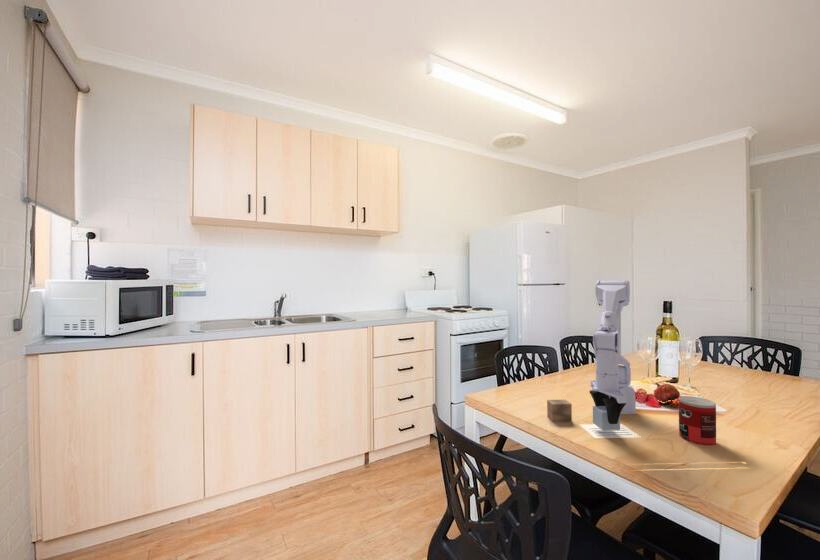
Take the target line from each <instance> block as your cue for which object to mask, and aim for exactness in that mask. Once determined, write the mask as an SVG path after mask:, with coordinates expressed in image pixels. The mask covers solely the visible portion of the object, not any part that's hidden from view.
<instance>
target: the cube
mask: <svg viewBox="0 0 820 560" xmlns="http://www.w3.org/2000/svg"><path fill="white" fill-rule="evenodd" d="M592 424H595V425H596V426H598V427H599V428H600V429H601V430H620V424H621V415H620V416H619V420H618V423H617V424H610V423H609V422H608V416H607V410H606V406H595V405H593V406H592Z"/></svg>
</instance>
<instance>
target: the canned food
mask: <svg viewBox="0 0 820 560" xmlns="http://www.w3.org/2000/svg"><path fill="white" fill-rule="evenodd" d="M716 405H717V404H716V403H715V402H714V401H712V400H710V399H707V398H703V397H700V396H692V395H684V396H683V395H682V396H679V398H678V435H679V437H681V439H683V440H686V441H688V442H691V443H693V444H698V445H703V446H714V445H716V444H717V406H716Z"/></svg>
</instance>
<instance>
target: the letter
mask: <svg viewBox="0 0 820 560" xmlns="http://www.w3.org/2000/svg"><path fill="white" fill-rule="evenodd" d="M579 426H580V427H581V428H583V429H584V430H585V431H586V432H587V433H588V434H590V435H591V436H592V437H593V438H594V439H617V438H618V439H619V438H620V439H621V438H622V439H623V438H641V436H640V435H639V434H638V433H636V432H634V431H633V430H632V429H630V428H628V427H627V426H625V425H624V424H623V423H620V430H601V429H600V428H599V427H598V426H596V425H595V424H594V423H590V424H585V423H584V424H579Z"/></svg>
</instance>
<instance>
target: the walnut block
mask: <svg viewBox="0 0 820 560" xmlns="http://www.w3.org/2000/svg"><path fill="white" fill-rule="evenodd" d="M546 402H547V403H546V405H547V406H546V407H547V411H546V413H547V414H546V415H547V418H548V419H549V420H550V421H551V422H552V423H553V422H554V423H557V422H558V423H561V422H562V423H563V422H572V421H573V417H572V416H573V413H572V412H573V411H572V409H573V408H572V407H573V406H572V405H573V404H572V403H571V402H570V401H569V400H567V399H547V400H546Z"/></svg>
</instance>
